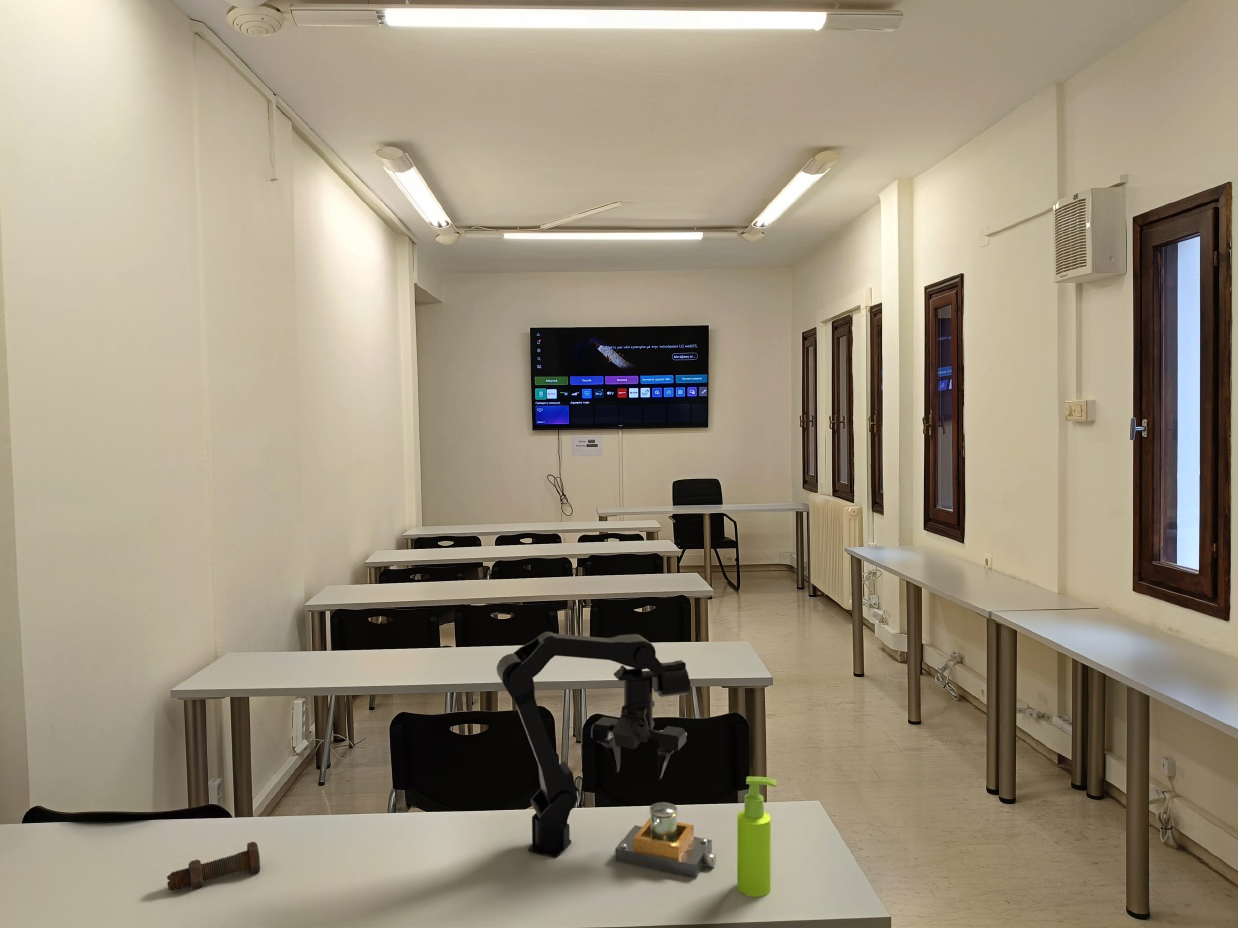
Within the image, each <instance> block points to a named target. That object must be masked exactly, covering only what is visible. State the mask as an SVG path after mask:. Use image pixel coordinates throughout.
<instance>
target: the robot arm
mask: <svg viewBox="0 0 1238 928" xmlns="http://www.w3.org/2000/svg"><path fill="white" fill-rule="evenodd" d="M656 653H657V652H656V649H655V646H654V645H653V643H651V642H650V641H648V640H647V639H646V638H645V637H643V636H642V635H640V634H638V633H635V634H633V633H632V634H620V635H616V636H613V637H596V636H586V635H578V634H577V635H573V634H566V633H565V634H563V633H562V634H561V633H554V632H551V631H544V632H542V633H541V634H540V635H538V636H537V637H536V638H534V639H533V640H531V641H530V642H527V643H525V644H524V645H522V646H520V647H519V648H518V649H516V650H515V651H514V652H512V653H509V654H505V655H503V656H502V657H501V658H500V660H498V662H497V665H496V674H497V676H498V678H499V679H500V681H501V683H502V684H503V686H504V687H505V689H506V691H507V692H508V695H509V696H510V697H511V699H512V700H513V702H514V704H515V706H516V710H517V712H518V715H519V716H520V720H521V722H522V725H523V727H524V730H525V732H526V733H525V734H526V736H527V739H528V741H529V745H530V746H531V749H532V751H533V755H534V757H535V759H536V762H537V766H538V774H539V775H538V777H539V784H540V789H539V790H538V791H537V792H536V793H535V794H534V795H532V797H531V799H530V804H531V805H532V808H533V810H534V811H535V813H534V814H533V815H532V816H531V836H532V837H531V841H532V842H531V845H529V847H528V849H527V851H528V852H531V853H535V854H538V855H539V854H541V855H545V856H549V857H552V858H553V857H554V858H557V857H559V856H560V855H561V854H562V853H563V852H564V851H565V850H567V848H568V846H570V845H571V843H572V839H570V824H569V823H568V820H569V816H570V814H571V811H572V810H573V809H574V808H575V807H576V804H577V803H578V798H579V797H578V793H577V792H579V791H580V788H579V787H578V786H577V784H576V782H575V778H574V774H573V771H572V769H571V768H570V767H569V765H568V764H567V762H566V760H563V761H562V762H560V763H559V760H558V758H557V755H556V752H555V749H554V747H553V745H552V741H551V738H550V735H549V734H548V731H547V729H546V725H545V722H544V720H543V717H542V715H541V712H540V708H539V707H538V704H537V701H536V691H535V689H536V688H535V683H534V677H537V675H539V673H540V672H542V670H543V669H544V668H545V667H546V665H547V664H548V663H549V662H550V661H551V660H552V659H553V658H555V657H567V658H568V657H569V658H579V659H581V658H582V659H590V660H591V659H593V660H603V661H604V660H605V661H610V662H615V663H618V664H619V665H620V667H619V669H618V668H617V670H616V671H614V672H613V677H615V678H616V679H617V681H620V682H623V705H622V706H621V710H620V711H621V712H620V713H621V715H620V717H619V719H618V718H613V717H608V716H607V717H606V716H602V717H601V718H599V719H598V720H597V721H596V722H594V724H592V725H591V729H590V738H592V739H593V740H597V743H599V744H601V745H602V746H604V748H605V749H606V750H607V753H608V755H609V757H610V760H611V763H612V766H613V769H614V772H615V773H618V772H620V768H621V748H628V749H629V750H634V749H637V748H638V746H639V744H640V743H647V742H648V740H649V741H656V742H658V746H659V748H658V749H656V750H657V755H658V763H657V779H658V780H661V779H662V777H663V776H664V772H665V770H666V768H667V765H668V762H669V759H670V756H671V754H673V753H674V752H676V751H680V750H681V748H682V747H683V746H684V745H685V744H686V742H687V732H686V731H685V729H684V728H683V727H679V726H677V727H676V726H670V725H667V726H666V727H665V728H664V729H663V730H656V729H654V727H655V720H653V708H654V707H655V700H653V692H654V693H657V694H658V696H659V697H660V698H665V697H673V696H675V697H676V696H683V695H688V694H689V693H690V691H691V690H690V689H691V679H690V677H689V673H688V670H687V668H686V667H687V665H686V662H685V661H683V660H681V659H680V660H674V661H670V662H661V661H660V660H659V659H658V657H657V656H656ZM627 667H628V668H627ZM629 667H630V668H629ZM646 669H647V670H646Z"/></svg>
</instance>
